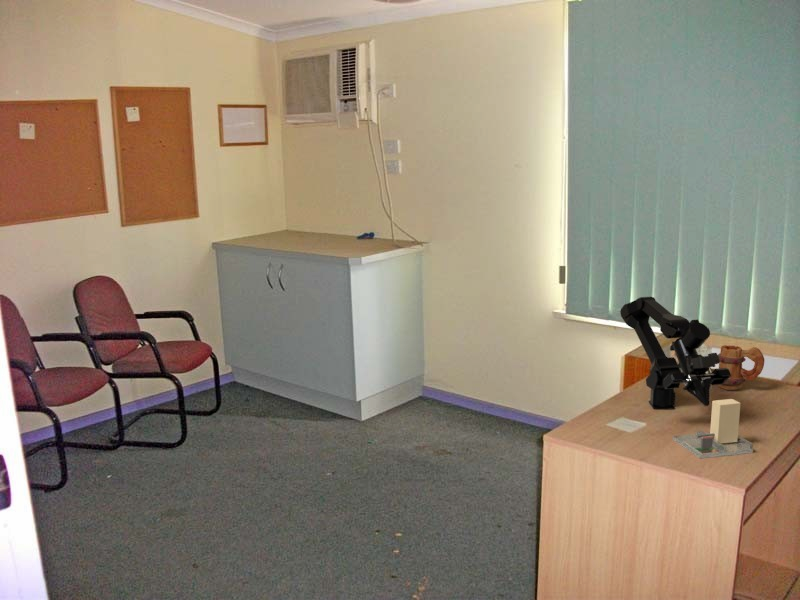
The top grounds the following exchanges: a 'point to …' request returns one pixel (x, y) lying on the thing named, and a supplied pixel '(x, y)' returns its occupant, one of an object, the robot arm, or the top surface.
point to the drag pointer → (706, 442)
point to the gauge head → (724, 421)
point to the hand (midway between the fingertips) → (707, 405)
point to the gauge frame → (713, 446)
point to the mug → (739, 365)
